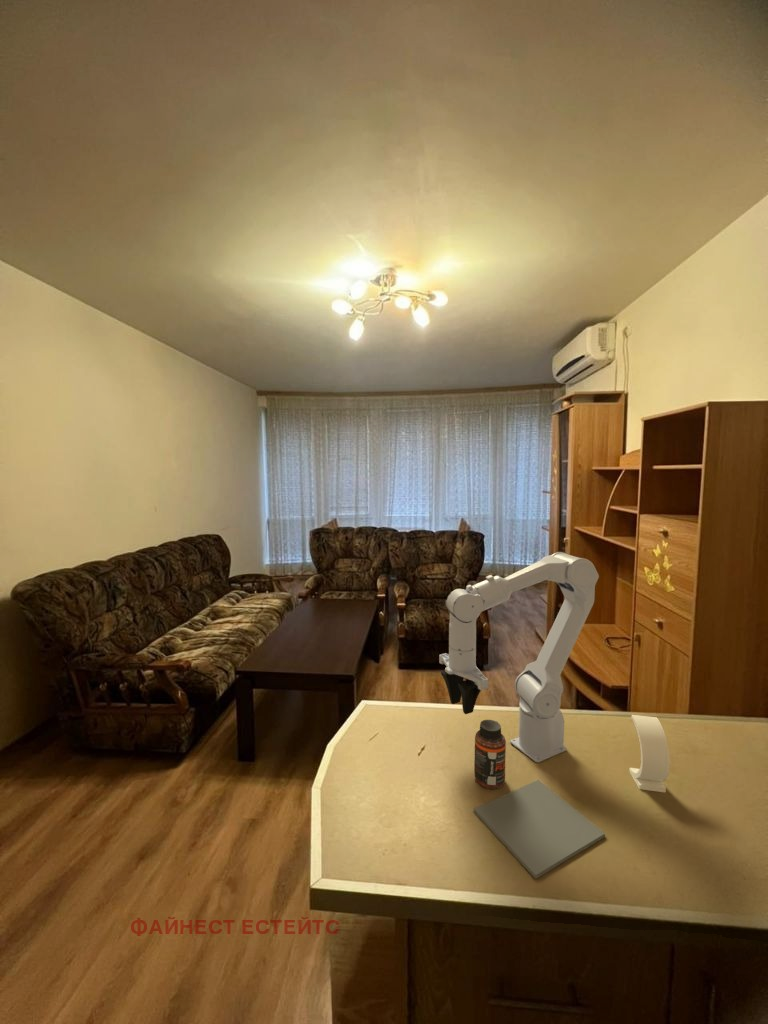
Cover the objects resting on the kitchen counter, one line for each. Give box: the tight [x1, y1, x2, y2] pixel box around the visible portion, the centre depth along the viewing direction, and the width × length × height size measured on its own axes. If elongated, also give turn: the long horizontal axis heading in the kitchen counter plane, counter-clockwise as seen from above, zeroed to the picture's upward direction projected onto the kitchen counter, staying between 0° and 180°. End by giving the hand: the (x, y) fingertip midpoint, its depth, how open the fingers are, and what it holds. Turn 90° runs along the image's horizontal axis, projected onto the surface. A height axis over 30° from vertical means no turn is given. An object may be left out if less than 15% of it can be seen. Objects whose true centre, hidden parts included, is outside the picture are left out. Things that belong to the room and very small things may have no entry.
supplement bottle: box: [473, 719, 507, 790], centre depth 81 cm, size 6×6×11 cm
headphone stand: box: [629, 714, 671, 793], centre depth 79 cm, size 5×6×12 cm
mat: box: [473, 779, 606, 880], centre depth 70 cm, size 16×14×1 cm
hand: (461, 707), depth 88 cm, fingers open, 4 cm apart
